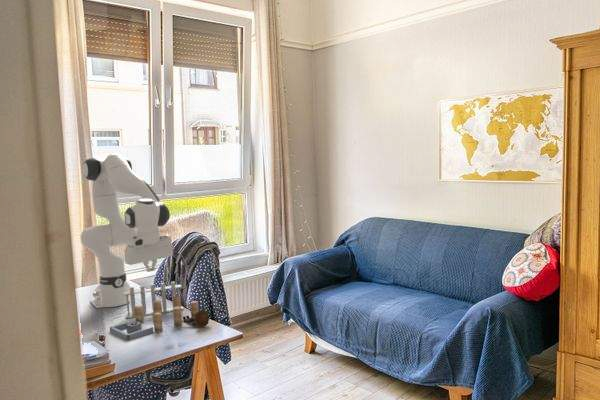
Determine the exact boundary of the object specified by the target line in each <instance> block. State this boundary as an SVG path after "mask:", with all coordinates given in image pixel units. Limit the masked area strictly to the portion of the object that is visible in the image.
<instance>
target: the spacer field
mask: <svg viewBox="0 0 600 400" xmlns="http://www.w3.org/2000/svg"><path fill="white" fill-rule="evenodd" d="M173 304H174V308H173V312H172V313H173V326H175V327H178V326H179V325H180V326H182V325H183V322H182V320H183V315H182V310H181V306H182V302H181V295H180V296H178V295H176V296H174V297H173ZM173 304H172V305H173ZM189 304H190V305H189V306H190V318H192V317H195V314H196V313H197V312H198V311H199V310H200V309H199V301H197V300H194V301H193V300H192V301H191V302H189ZM162 309H163V305H162V300H161V299H160V300H159V299H158V300H157V299H156V301H154V314H153V315H152V316H153V317H152V318H153V333H162V332H163V313H162ZM134 312H135V318H134V320H136V322H140V323H141V324H143V323H144V316H143V312H142V305H135V307H134ZM180 326H179V327H180Z"/></svg>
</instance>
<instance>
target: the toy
mask: <svg viewBox="0 0 600 400" xmlns="http://www.w3.org/2000/svg"><path fill="white" fill-rule="evenodd" d="M198 310H199V311H198V312H197V313H196V314H195V317H192V318H191V317H190V315H189V314H188V315H185V316H182V323H183V324H193V323H195V325H196V327H197V328H201V327H203V328H205V327H206V326H207V325H209V321H210V315H209V313H208V312H207V311H206V310H202V309H198ZM204 326H205V327H204Z"/></svg>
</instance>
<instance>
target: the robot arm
mask: <svg viewBox="0 0 600 400" xmlns="http://www.w3.org/2000/svg"><path fill="white" fill-rule="evenodd" d="M82 173H83V176H84V178H85V179H86V180H87V181H91V182H92V185H91V186H92V189H91V190H92V201H93V211H94V213H95V215H97V216H99V217H100V218H103V219H106V220H107V221H108V224H101V225H93V226H90V227H86V228H84V229H83V230H82V231H81V234H80V243H81V244H82V246H83V247H84V248H85V249H87V250H89V251H90V252H92V253H93V254H94V255H95V257H96V258H97V260H98V265H99V271H100V276H99V282H98V283H99V284H98V285H97V287H96V288H95V289H94V292H93V291H92V296H93V297H94V298H91V299H90V300H89V301H90V303H91V304H92V305H93V306H94V307H95V308H97V309H98V308H99V309H102V308H114V307H120V306H124V305H127V299H126V295H124V292H129V291H130V287H131V286H130V285H131V284H130V283H129V282H128V281H127V274H126V272H125V264H127V265H129V266H130V265H131V266H133V265H137V264H143V266H145V268H146V272H148V273H149V272H153V271H156V265H157V264H158V260H161V259H166V258H170V257H173V255H174V249H173V245H172V237H171V236H170V235H168V234H165V235H160V228H159V227H164V226H165V225H166V224H167V223H168V222H169V220H170V218H171V213H170V210H169V208H168V206H167V205H166V204H165V203H163V202H162V200H161V199H160V198H159V197H158V196H157V194H156V193H155V191H154V190H153V189H152V187H151V186H150V185H149V183H147V181H146V179H142V178H141V177H139V176H138V175H137V174H136V173H135V172H133V165H132V162H131V161H130V159H129V158H128V157H126V156H125V157H124V156H123V155H121V154H119V153H112V154H109V155H107V156H105V157H104V156H103V157H95V158H94V157H91V158H87V159H85V160H84V162H83V164H82ZM117 192H118V193H123V194H128V195H129V194H130V195H134V196H139V197H141V198H140V199H137V200H136V201H135V204H134V205H132V206H130V207H128V208H127V209H126V210H125V212H124V215H123V214H122V213H121V210H120V206H119V201H118V193H117ZM119 246H120V247H121V246H126V247H125V249H124V257H123V256H122V255H120V254H118V253H115V252H112V251H111V249H110V248H111V247H112V248H113V247H119ZM150 262H152V263H151V265H149V264H150ZM128 300H129V303H131V297H130V295H128Z"/></svg>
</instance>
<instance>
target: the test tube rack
mask: <svg viewBox="0 0 600 400" xmlns="http://www.w3.org/2000/svg"><path fill="white" fill-rule="evenodd" d="M139 288H140V289H137V290H135V287H134V286H130V291H129V292H124V295H126V299H127V304H126V310H127V313H126V314H125V315H124V316H125V319H126V320H127V319H133V318H134V317H135V312H134V307H135V306H136V298H135V295H136V294H137V295H138V294H140V301H141V306H142V312H143V317H146V316H153V314H154V301H157V299H156V297H157V296H156V292H157V291H158V292H159V291H161V306H162V314H164V313H163V312H167V313H170V312H169V311H173V308H174V304H173V297H174V296H180V297H181V295H180V294H181V293H180V289H181V288H182V285H181V284H176V282H175V281H171V282H170V285H169V286H168V285H167V286H166V284H165V282H161V283H160V287H155V283H151V284H150V288H145V285H140V287H139ZM176 289H177V295H176ZM166 290H171V301H172V302H171V303H172V307H167V296H166V294H167V293H166ZM149 292H150V294H151V296H150V297H151V306H152V307H151V308H152V310H147V303H146V301H147V300H146V293H149ZM128 295H130V297H131V301H130V302H129V300H128ZM130 307H131V311H130ZM182 309H184V306H183V305H181V311H183V310H182ZM134 319H135V318H134Z"/></svg>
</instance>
